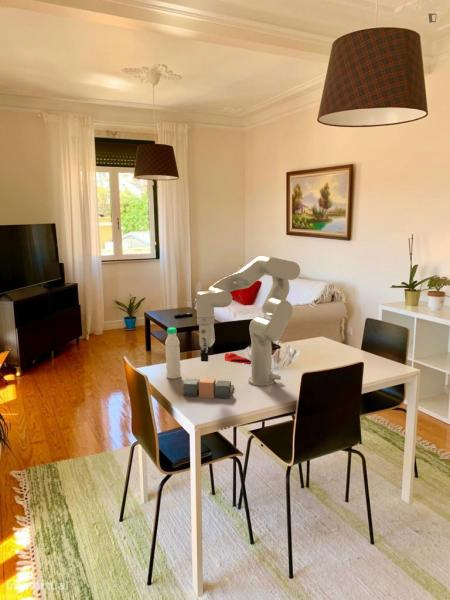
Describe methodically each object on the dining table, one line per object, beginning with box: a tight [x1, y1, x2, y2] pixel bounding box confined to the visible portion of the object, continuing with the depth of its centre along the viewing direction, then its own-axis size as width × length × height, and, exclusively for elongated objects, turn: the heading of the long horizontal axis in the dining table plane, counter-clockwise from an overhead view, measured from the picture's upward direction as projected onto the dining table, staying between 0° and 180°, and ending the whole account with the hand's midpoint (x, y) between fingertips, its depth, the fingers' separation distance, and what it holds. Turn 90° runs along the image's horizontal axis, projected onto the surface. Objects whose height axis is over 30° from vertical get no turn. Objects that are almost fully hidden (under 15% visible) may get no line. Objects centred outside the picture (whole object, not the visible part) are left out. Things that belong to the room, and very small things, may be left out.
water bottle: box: [164, 327, 182, 380], centre depth 225 cm, size 7×7×25 cm
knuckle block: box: [198, 377, 217, 399], centre depth 203 cm, size 6×5×7 cm
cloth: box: [224, 352, 252, 365], centre depth 253 cm, size 26×14×2 cm, turn 21°
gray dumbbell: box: [181, 378, 235, 400], centre depth 206 cm, size 22×13×6 cm, turn 79°
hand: (207, 357), depth 200 cm, fingers open, 9 cm apart
